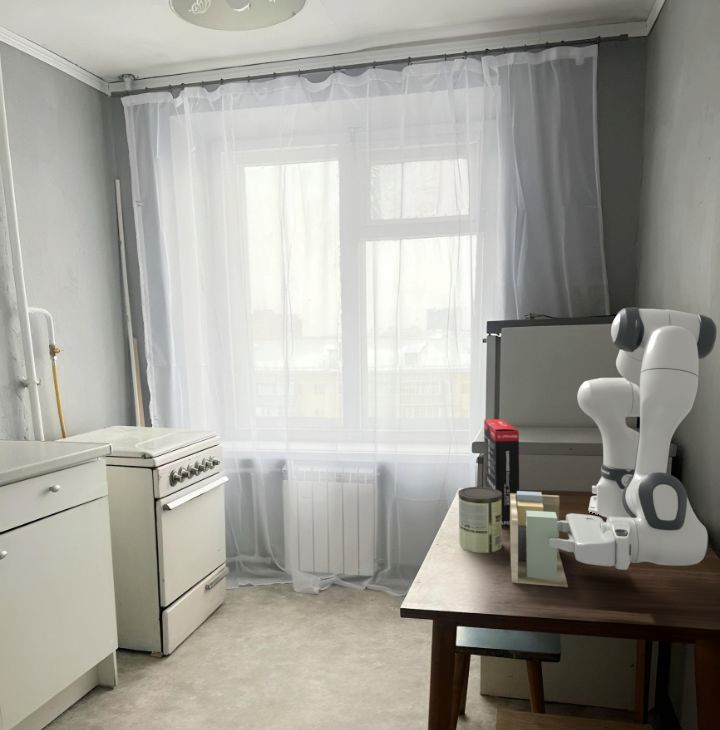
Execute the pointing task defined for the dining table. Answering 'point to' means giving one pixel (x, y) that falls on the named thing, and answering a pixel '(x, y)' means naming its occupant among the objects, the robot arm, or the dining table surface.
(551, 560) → the boxed book
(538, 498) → the shelved books
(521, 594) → the dining table surface
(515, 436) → the graphics card box
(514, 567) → the shelf
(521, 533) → the bookend
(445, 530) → the dining table surface
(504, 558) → the dining table surface
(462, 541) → the coffee can
